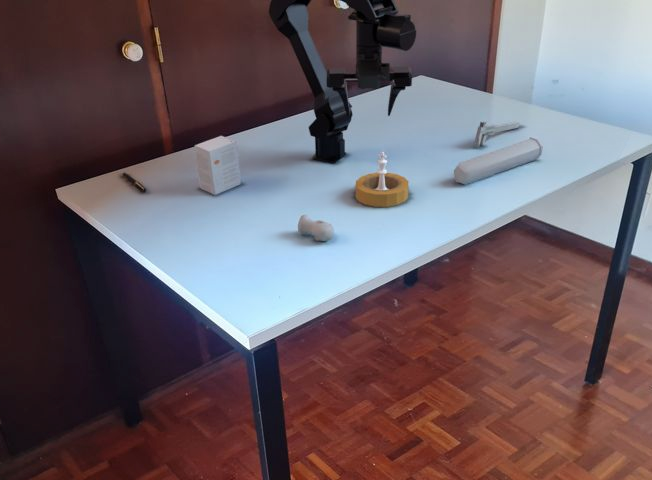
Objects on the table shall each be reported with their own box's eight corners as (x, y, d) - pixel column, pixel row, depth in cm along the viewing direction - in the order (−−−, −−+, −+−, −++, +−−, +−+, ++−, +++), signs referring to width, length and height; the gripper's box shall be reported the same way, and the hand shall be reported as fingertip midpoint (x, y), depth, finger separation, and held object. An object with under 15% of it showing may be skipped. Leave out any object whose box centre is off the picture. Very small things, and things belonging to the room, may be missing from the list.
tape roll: (347, 201, 156) (346, 188, 155) (369, 181, 164) (369, 169, 163) (395, 211, 152) (395, 198, 150) (415, 190, 160) (416, 177, 158)
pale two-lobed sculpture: (337, 244, 143) (321, 246, 140) (308, 231, 148) (292, 233, 144) (342, 223, 142) (325, 225, 138) (312, 211, 146) (296, 212, 142)
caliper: (478, 148, 178) (481, 124, 174) (474, 147, 179) (477, 123, 175) (520, 126, 190) (524, 102, 186) (517, 125, 190) (520, 102, 187)
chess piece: (386, 202, 155) (387, 158, 149) (366, 197, 158) (366, 154, 152) (396, 193, 159) (398, 150, 153) (376, 189, 161) (377, 146, 155)
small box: (226, 178, 169) (221, 134, 162) (241, 184, 165) (237, 140, 159) (199, 188, 164) (193, 144, 158) (214, 195, 161) (208, 151, 155)
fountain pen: (119, 175, 172) (118, 169, 171) (124, 173, 173) (123, 167, 172) (143, 194, 163) (142, 188, 162) (148, 193, 163) (147, 187, 162)
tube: (468, 173, 157) (546, 145, 167) (453, 159, 159) (530, 132, 170) (461, 192, 161) (537, 164, 171) (446, 178, 163) (522, 151, 174)
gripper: (324, 54, 147) (326, 128, 156) (414, 52, 146) (411, 127, 155) (326, 40, 156) (328, 111, 165) (412, 39, 155) (408, 110, 164)
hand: (368, 115), depth 162 cm, fingers open, 9 cm apart
